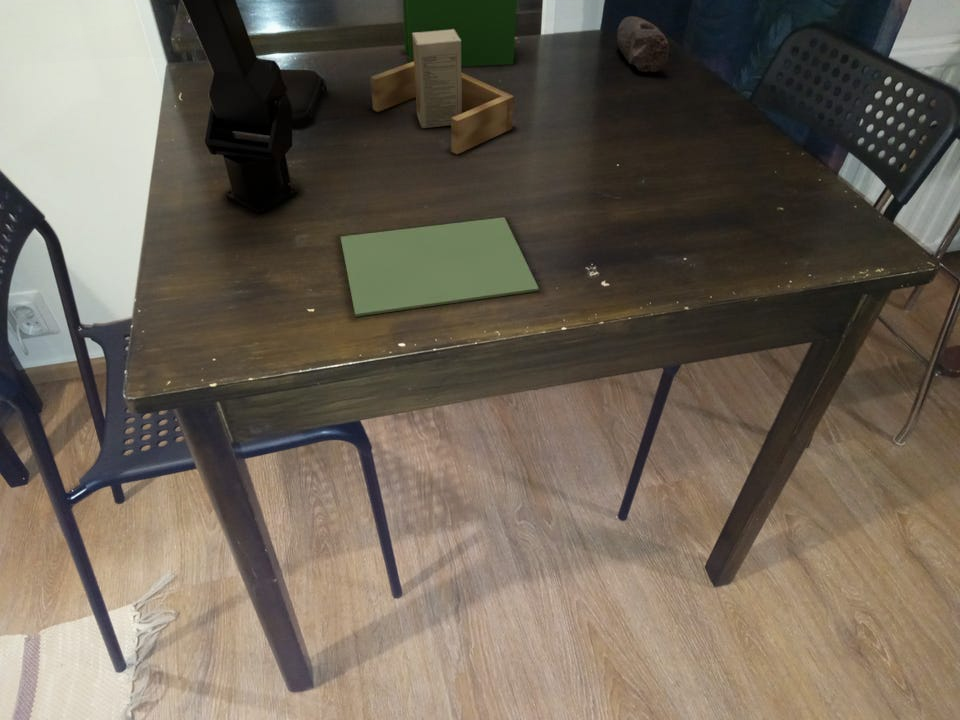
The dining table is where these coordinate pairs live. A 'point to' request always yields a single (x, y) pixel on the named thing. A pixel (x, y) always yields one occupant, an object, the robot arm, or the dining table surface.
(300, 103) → the carrying case
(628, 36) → the perforated stone tool
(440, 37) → the cosmetic box
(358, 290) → the mat
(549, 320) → the dining table surface
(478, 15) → the hardback book
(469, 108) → the frame
